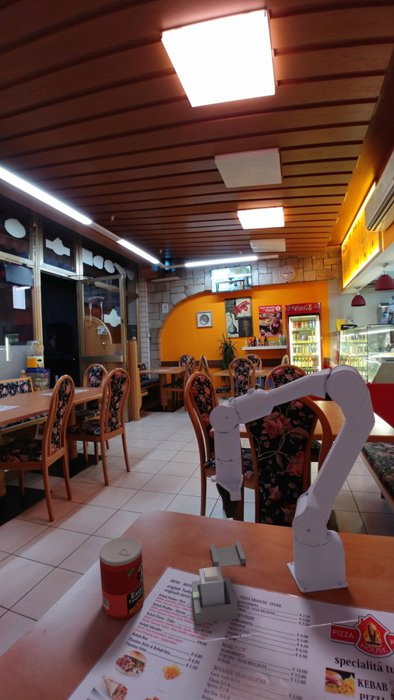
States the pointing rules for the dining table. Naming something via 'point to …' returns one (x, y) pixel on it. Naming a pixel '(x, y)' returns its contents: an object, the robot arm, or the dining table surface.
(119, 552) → the canned food
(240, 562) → the grey ridged plate
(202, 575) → the plug
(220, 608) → the port
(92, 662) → the dining table surface
